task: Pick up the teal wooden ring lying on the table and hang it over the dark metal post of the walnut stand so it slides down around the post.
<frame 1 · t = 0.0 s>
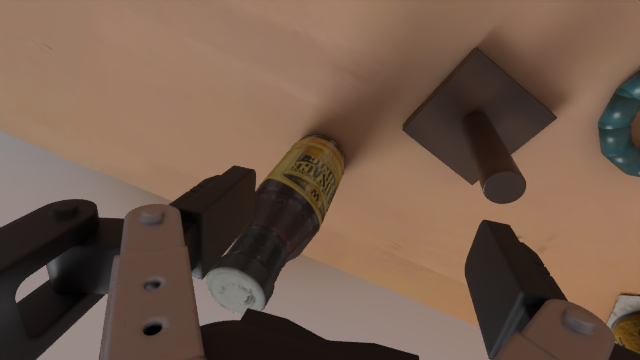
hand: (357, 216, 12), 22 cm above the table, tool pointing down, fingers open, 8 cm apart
peg stand: (472, 118, 31), on the table
sauce bottle: (318, 155, 37), on the table
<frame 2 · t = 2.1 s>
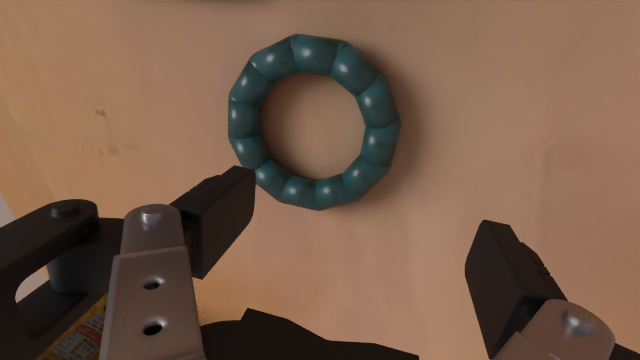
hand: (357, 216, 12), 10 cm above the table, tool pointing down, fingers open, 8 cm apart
ring: (309, 130, 21), point 1 cm above the table
condiment: (142, 300, 32), on the table
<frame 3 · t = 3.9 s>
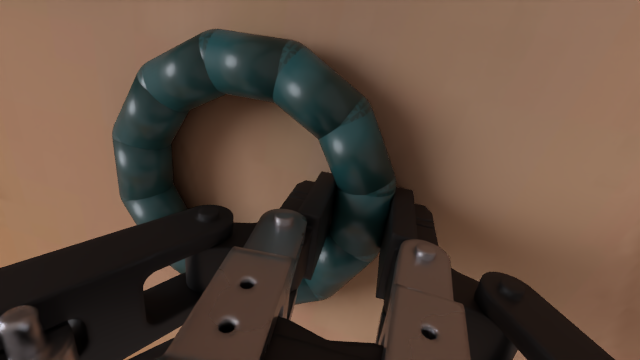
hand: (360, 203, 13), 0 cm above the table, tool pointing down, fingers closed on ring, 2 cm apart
ring: (247, 187, 13), point 1 cm above the table, touching gripper
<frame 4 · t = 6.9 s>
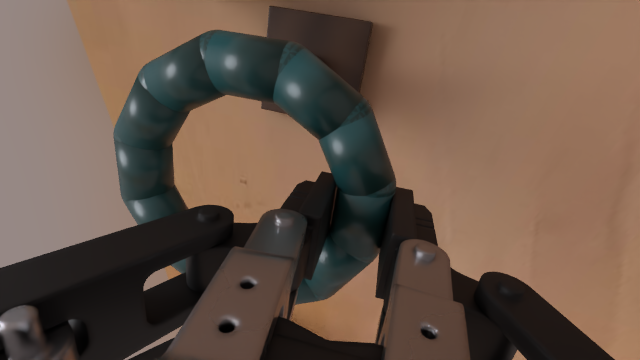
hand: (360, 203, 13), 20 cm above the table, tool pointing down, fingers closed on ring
ring: (247, 187, 13), point 21 cm above the table, touching gripper
peg stand: (315, 67, 31), on the table
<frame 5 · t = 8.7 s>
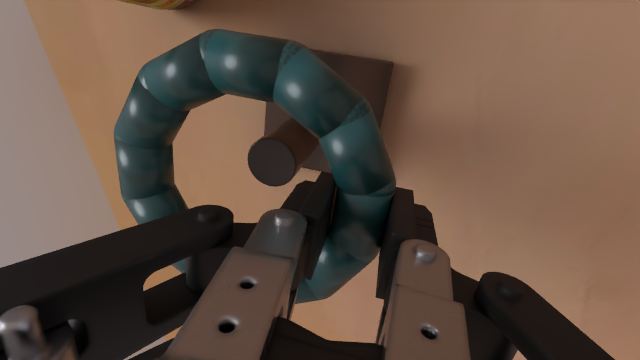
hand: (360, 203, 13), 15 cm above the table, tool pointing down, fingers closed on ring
ring: (247, 186, 13), point 15 cm above the table, touching gripper
peg stand: (325, 112, 26), on the table
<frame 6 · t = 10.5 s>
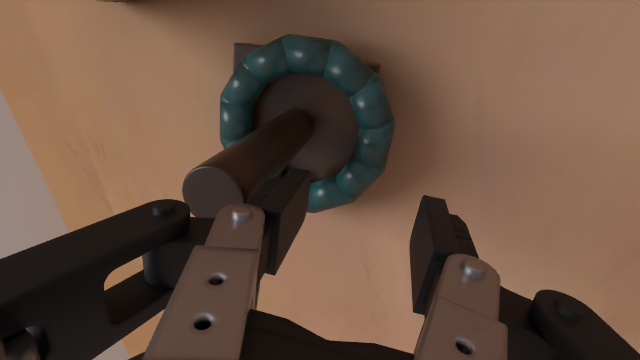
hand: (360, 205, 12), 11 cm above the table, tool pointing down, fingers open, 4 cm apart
ring: (302, 131, 20), point 2 cm above the table, touching peg stand
peg stand: (302, 121, 23), on the table
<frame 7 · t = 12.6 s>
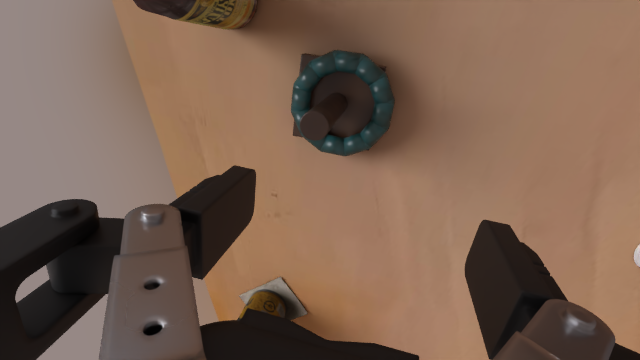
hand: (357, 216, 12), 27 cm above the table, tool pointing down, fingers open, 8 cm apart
ring: (341, 105, 35), point 2 cm above the table, touching peg stand
peg stand: (338, 101, 37), on the table
condiment: (273, 302, 51), on the table
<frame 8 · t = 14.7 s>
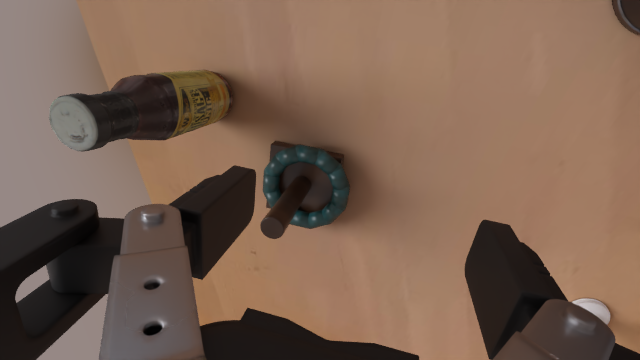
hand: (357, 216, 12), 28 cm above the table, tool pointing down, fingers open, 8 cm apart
ring: (305, 188, 41), point 2 cm above the table, touching peg stand
peg stand: (304, 180, 43), on the table
chess piece: (584, 312, 42), on the table
sauce bottle: (214, 93, 42), on the table
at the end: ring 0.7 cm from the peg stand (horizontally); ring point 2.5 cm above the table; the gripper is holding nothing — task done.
